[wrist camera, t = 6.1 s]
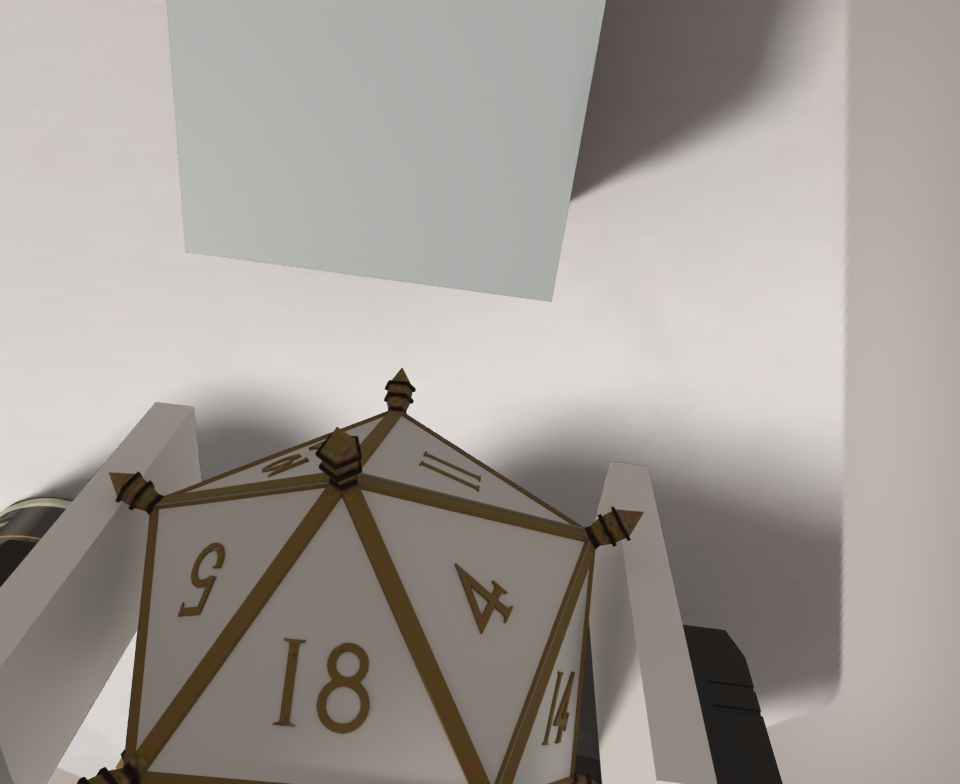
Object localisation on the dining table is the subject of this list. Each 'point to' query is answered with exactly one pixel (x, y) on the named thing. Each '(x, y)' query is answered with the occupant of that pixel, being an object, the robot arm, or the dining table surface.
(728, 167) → the dining table surface
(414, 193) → the tower top
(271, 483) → the game die
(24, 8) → the dining table surface
